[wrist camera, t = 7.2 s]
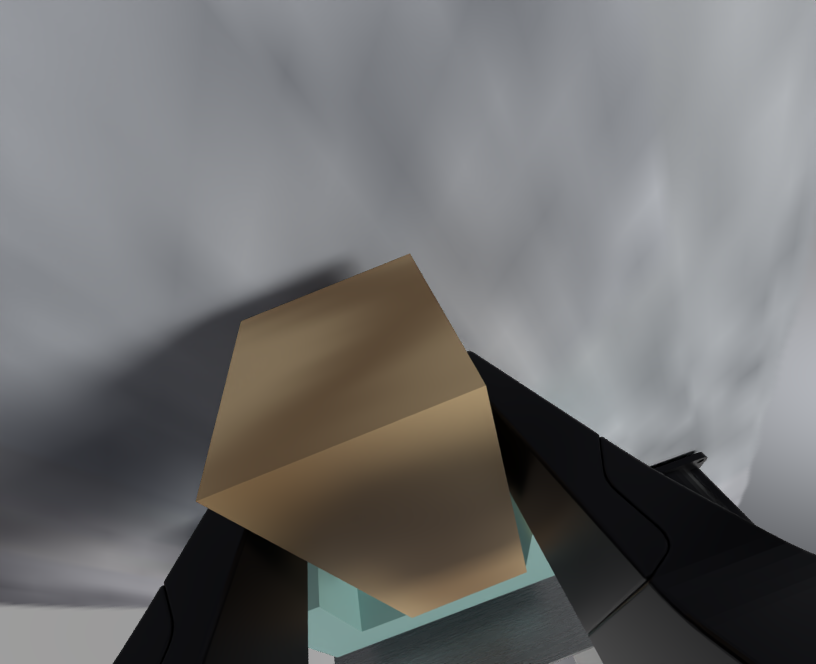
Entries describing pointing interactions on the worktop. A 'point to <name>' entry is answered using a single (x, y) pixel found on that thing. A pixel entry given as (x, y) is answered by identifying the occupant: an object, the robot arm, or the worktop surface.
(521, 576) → the slot block
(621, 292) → the worktop surface
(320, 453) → the oak peg
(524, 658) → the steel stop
